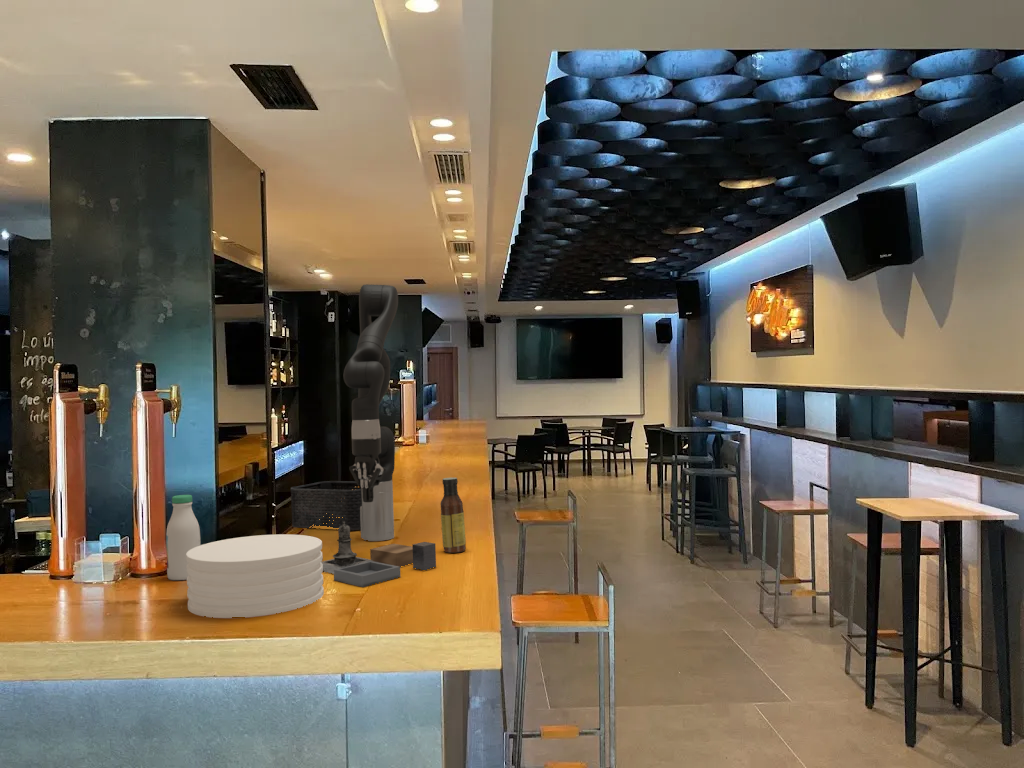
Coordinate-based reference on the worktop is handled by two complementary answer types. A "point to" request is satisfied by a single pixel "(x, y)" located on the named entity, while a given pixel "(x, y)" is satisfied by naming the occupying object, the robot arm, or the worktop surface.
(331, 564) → the holder
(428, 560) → the block
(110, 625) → the worktop surface
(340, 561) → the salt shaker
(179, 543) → the milk bottle
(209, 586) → the plate stack
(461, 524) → the sauce bottle
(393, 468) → the robot arm
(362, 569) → the tray
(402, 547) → the brown rectangular block
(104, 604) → the worktop surface
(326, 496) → the storage bin
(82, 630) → the worktop surface
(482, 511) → the worktop surface
